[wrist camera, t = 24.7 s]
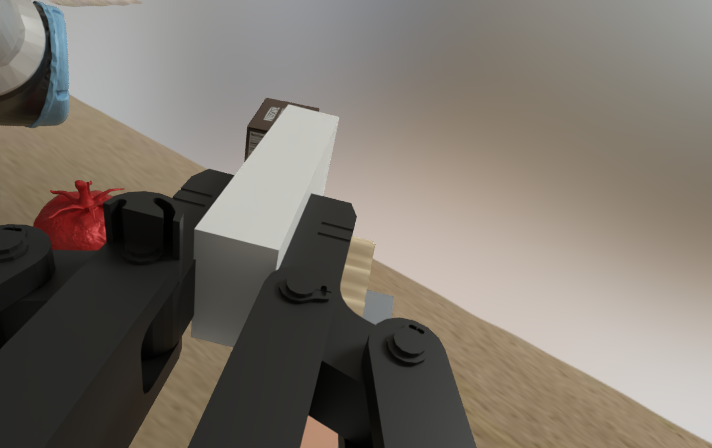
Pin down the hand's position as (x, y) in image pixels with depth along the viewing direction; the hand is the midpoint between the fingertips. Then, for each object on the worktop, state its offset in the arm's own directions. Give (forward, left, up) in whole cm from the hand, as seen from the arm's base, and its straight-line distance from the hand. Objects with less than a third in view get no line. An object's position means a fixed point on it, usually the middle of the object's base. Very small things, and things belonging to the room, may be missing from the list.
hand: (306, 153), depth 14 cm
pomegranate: (-24, +24, -30) cm, 45 cm away
